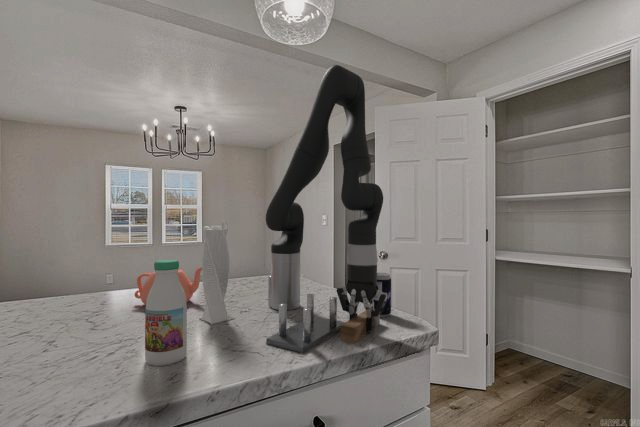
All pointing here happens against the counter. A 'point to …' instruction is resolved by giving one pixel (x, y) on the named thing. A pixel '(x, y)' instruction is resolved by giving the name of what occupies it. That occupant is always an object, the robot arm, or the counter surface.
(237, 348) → the counter surface
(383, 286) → the beverage can
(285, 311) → the peg rack
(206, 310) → the skyscraper
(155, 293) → the milk bottle
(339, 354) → the counter surface
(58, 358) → the counter surface
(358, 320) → the brown wooden bar
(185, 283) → the teapot
